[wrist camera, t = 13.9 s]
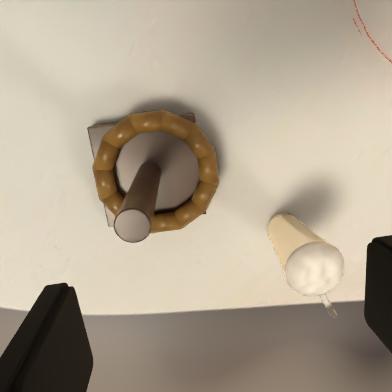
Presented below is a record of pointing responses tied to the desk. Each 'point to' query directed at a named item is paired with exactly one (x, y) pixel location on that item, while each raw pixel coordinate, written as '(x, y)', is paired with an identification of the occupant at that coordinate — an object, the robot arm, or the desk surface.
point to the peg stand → (149, 178)
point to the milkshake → (306, 258)
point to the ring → (175, 127)
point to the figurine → (366, 30)
